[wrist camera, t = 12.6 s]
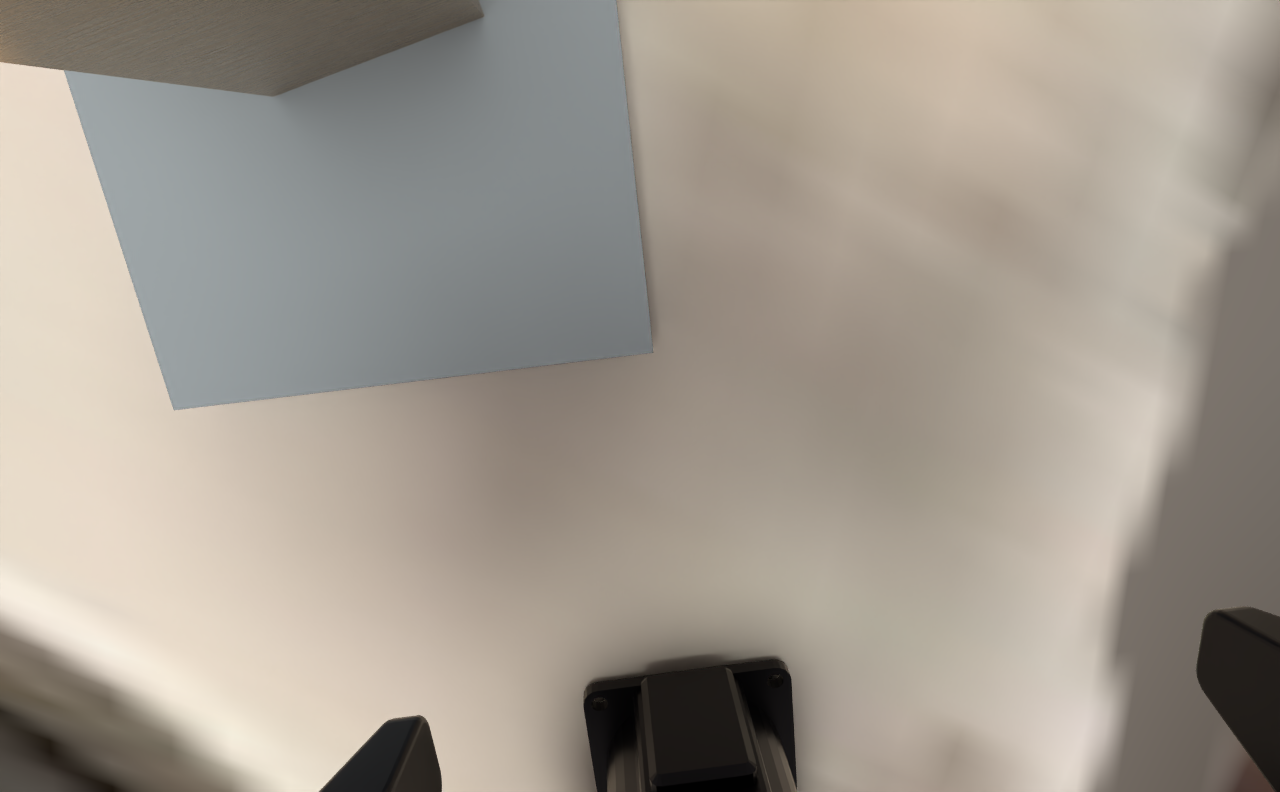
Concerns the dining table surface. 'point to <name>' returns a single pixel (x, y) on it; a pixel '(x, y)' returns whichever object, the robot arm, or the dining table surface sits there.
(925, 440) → the dining table surface
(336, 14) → the gold metal block
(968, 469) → the dining table surface
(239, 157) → the mat
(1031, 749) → the dining table surface
